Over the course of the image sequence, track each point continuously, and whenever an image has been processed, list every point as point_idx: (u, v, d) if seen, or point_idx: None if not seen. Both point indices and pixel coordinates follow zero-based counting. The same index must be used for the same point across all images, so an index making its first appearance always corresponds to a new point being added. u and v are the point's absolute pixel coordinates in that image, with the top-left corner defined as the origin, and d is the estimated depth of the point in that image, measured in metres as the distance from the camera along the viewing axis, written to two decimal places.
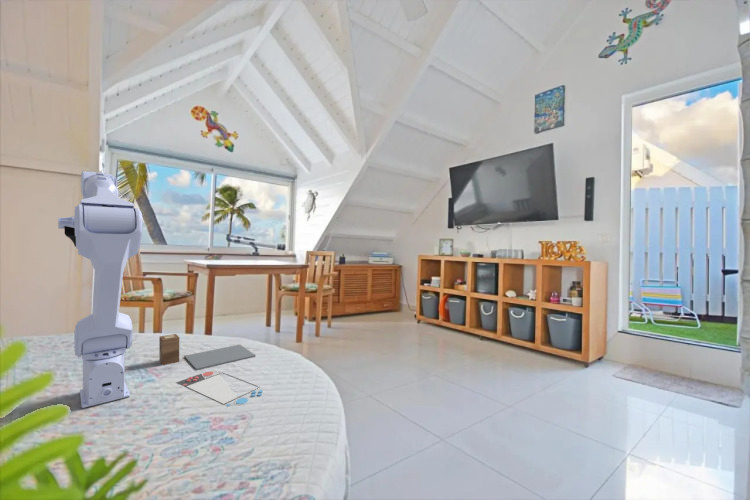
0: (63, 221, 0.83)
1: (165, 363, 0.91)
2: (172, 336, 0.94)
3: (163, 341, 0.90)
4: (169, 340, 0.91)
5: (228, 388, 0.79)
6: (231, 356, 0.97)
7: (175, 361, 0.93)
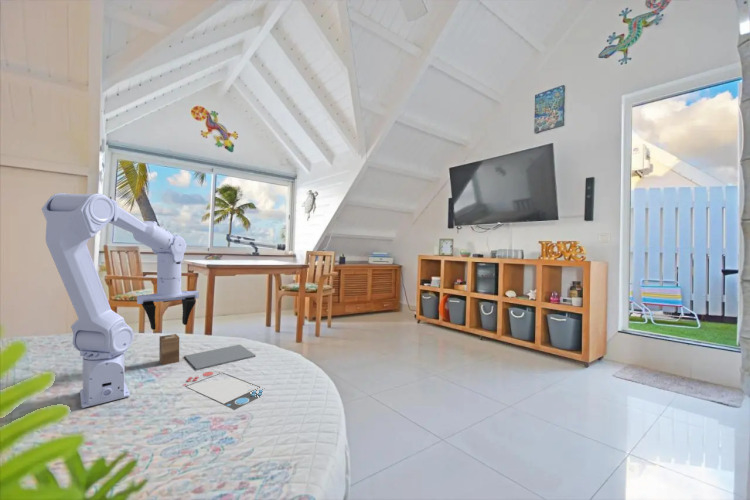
0: (142, 296, 0.88)
1: (165, 363, 0.91)
2: (172, 336, 0.94)
3: (163, 341, 0.90)
4: (169, 340, 0.91)
5: (228, 388, 0.79)
6: (231, 356, 0.97)
7: (175, 361, 0.93)
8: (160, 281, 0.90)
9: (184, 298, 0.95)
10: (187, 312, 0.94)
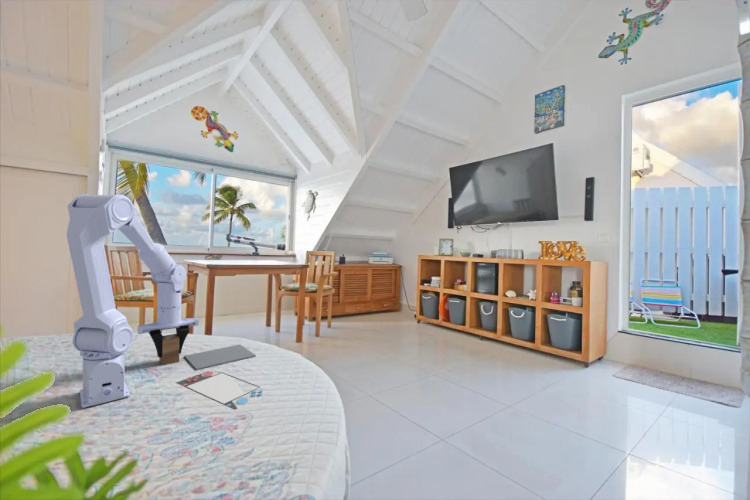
0: (142, 326, 0.88)
1: (165, 363, 0.91)
2: (172, 335, 0.94)
3: (163, 341, 0.90)
4: (169, 340, 0.91)
5: (228, 388, 0.79)
6: (231, 356, 0.97)
7: (175, 361, 0.93)
8: (160, 310, 0.90)
9: (178, 327, 0.94)
10: (181, 341, 0.94)
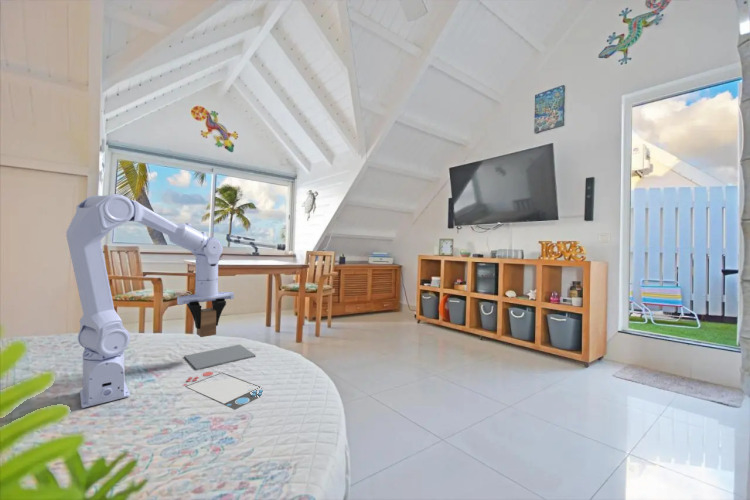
0: (182, 297, 0.90)
1: (203, 335, 0.93)
2: (209, 309, 0.96)
3: (201, 313, 0.93)
4: (207, 313, 0.94)
5: (228, 388, 0.79)
6: (231, 356, 0.97)
7: (212, 333, 0.95)
8: (199, 282, 0.92)
9: (215, 299, 0.96)
10: (218, 313, 0.96)
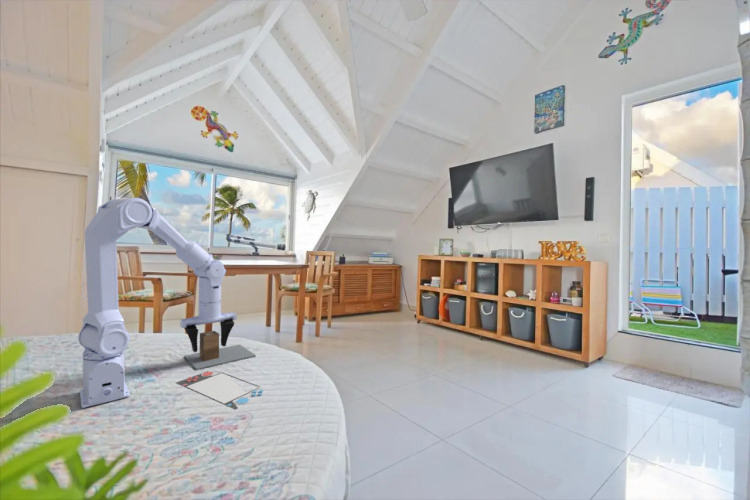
0: (185, 320, 0.91)
1: (206, 359, 0.94)
2: (212, 332, 0.96)
3: (204, 337, 0.93)
4: (210, 337, 0.94)
5: (228, 388, 0.79)
6: (231, 356, 0.97)
7: (215, 357, 0.95)
8: (202, 305, 0.92)
9: (223, 320, 0.98)
10: (226, 334, 0.97)
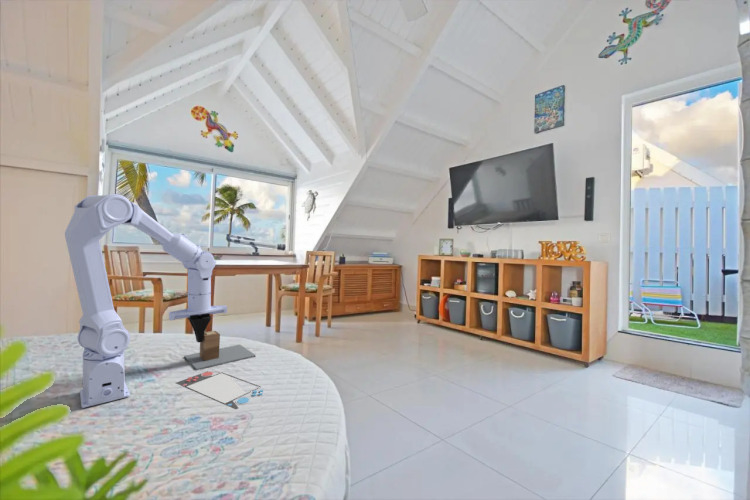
0: (173, 312, 0.89)
1: (206, 359, 0.94)
2: (212, 332, 0.96)
3: (205, 337, 0.93)
4: (211, 336, 0.94)
5: (228, 388, 0.79)
6: (231, 356, 0.97)
7: (215, 357, 0.95)
8: (191, 297, 0.90)
9: (199, 315, 0.93)
10: (202, 329, 0.93)
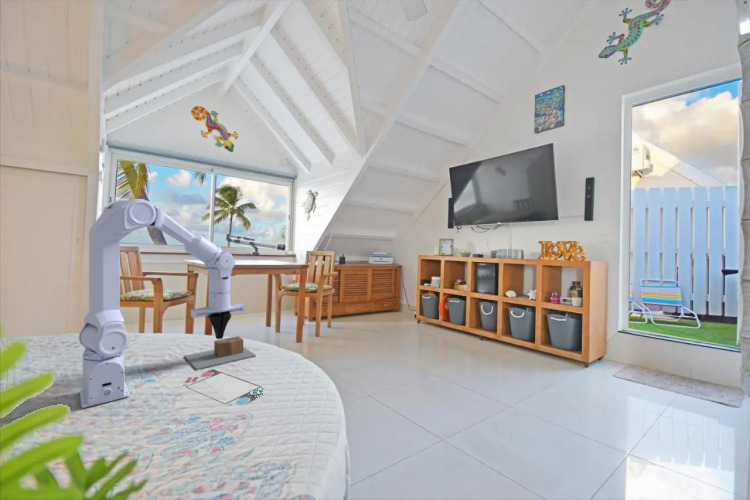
0: (195, 310, 0.93)
1: (220, 346, 0.96)
2: None
3: (241, 340, 1.00)
4: (241, 345, 1.00)
5: (228, 388, 0.79)
6: (231, 356, 0.97)
7: (220, 354, 0.96)
8: (212, 295, 0.94)
9: (220, 312, 0.97)
10: (223, 326, 0.96)
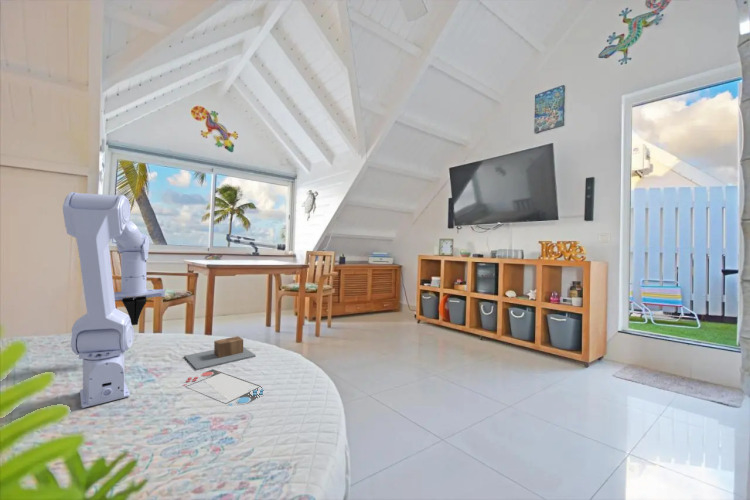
0: None
1: (220, 346, 0.96)
2: None
3: (241, 340, 1.00)
4: (241, 345, 1.00)
5: (229, 388, 0.79)
6: (231, 356, 0.97)
7: (220, 354, 0.96)
8: (124, 279, 0.91)
9: (135, 298, 0.94)
10: (137, 312, 0.93)
